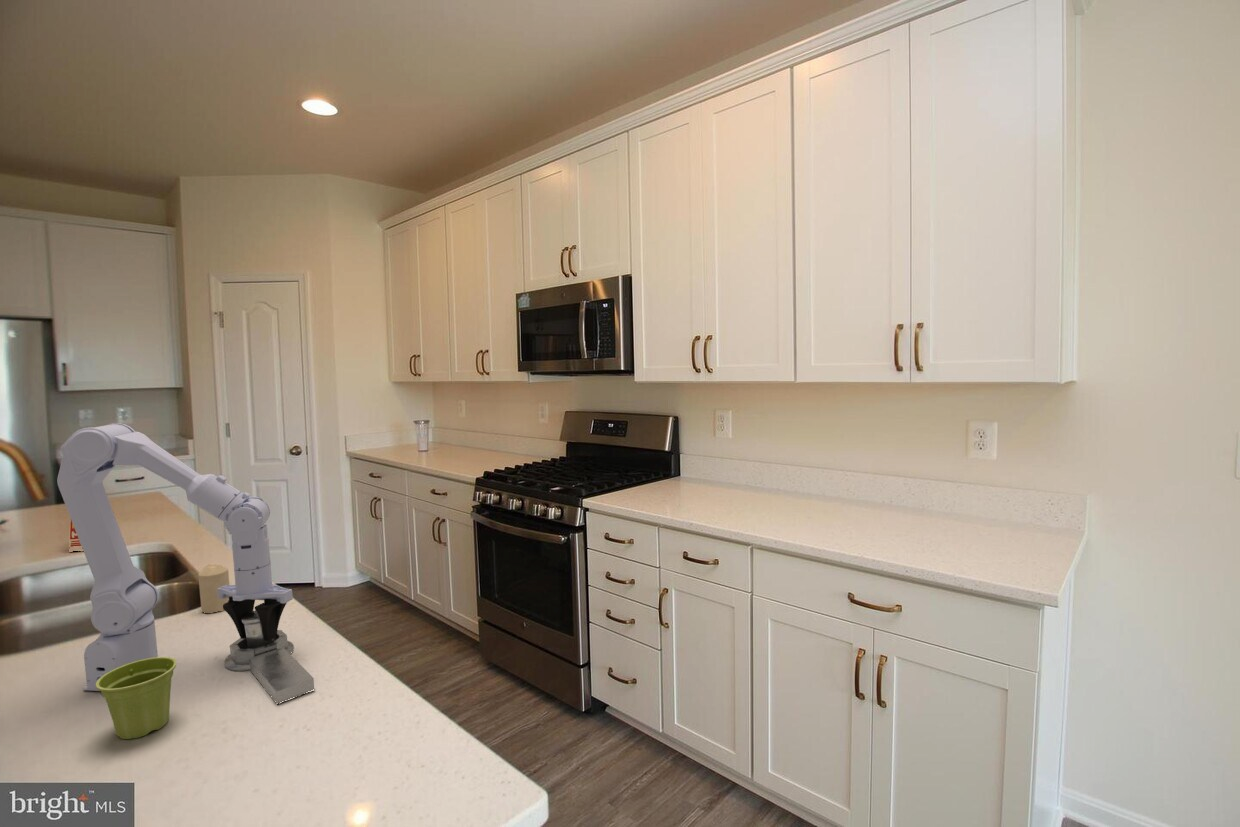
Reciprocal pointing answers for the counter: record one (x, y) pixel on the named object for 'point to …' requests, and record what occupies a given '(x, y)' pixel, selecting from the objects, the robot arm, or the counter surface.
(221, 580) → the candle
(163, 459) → the robot arm
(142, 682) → the plant pot
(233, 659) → the grey piece
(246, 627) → the metal knob
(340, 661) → the counter surface
